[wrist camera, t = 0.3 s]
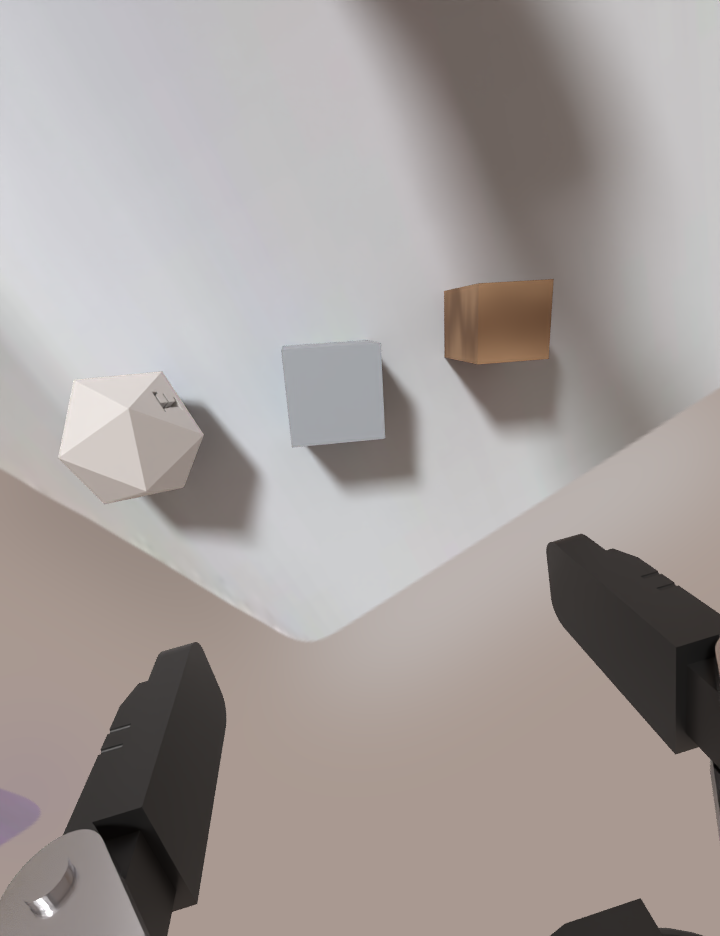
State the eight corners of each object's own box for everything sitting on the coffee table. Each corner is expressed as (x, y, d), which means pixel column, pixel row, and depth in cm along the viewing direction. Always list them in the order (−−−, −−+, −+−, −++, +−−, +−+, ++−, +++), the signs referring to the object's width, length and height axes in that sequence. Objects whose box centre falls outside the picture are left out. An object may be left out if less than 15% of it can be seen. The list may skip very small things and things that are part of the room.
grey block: (282, 345, 35) (281, 349, 29) (366, 340, 36) (380, 342, 30) (291, 428, 37) (291, 447, 31) (371, 421, 38) (385, 438, 32)
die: (216, 477, 38) (233, 434, 29) (108, 536, 34) (90, 506, 25) (161, 393, 38) (160, 325, 30) (46, 441, 34) (6, 378, 25)
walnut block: (444, 291, 36) (478, 283, 29) (505, 287, 36) (553, 279, 30) (444, 357, 37) (477, 364, 30) (503, 352, 38) (548, 358, 31)
